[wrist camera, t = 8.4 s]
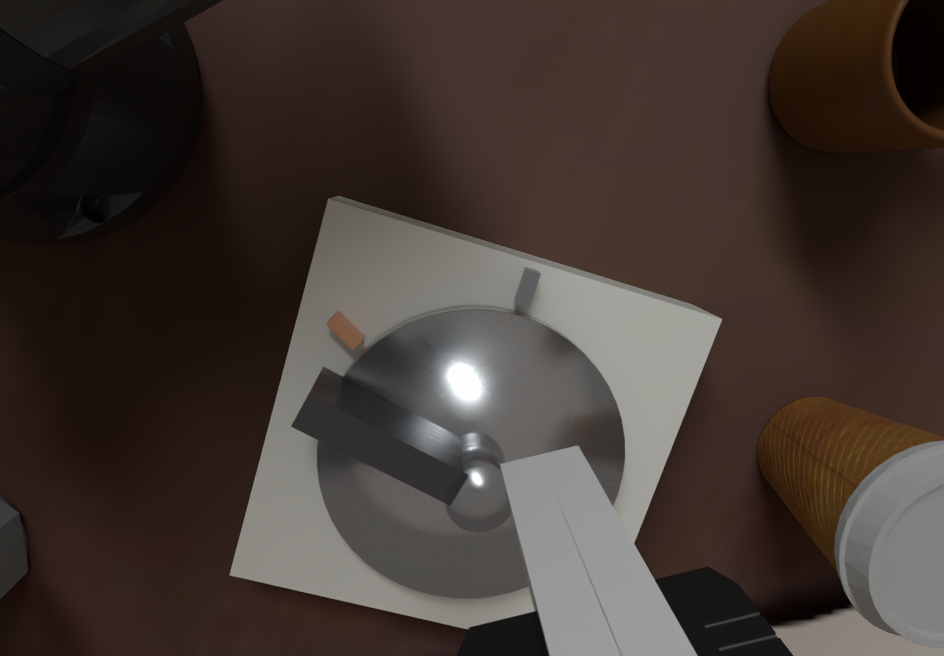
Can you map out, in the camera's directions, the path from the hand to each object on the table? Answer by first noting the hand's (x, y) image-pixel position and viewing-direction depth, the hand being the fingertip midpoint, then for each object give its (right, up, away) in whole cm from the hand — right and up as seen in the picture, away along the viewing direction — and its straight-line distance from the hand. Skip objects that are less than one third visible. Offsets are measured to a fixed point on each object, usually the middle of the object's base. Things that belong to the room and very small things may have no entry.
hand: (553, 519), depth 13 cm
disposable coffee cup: (+18, -3, +27) cm, 33 cm away
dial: (-2, -2, +21) cm, 22 cm away
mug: (+20, +17, +23) cm, 34 cm away
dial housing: (-2, -2, +25) cm, 25 cm away
